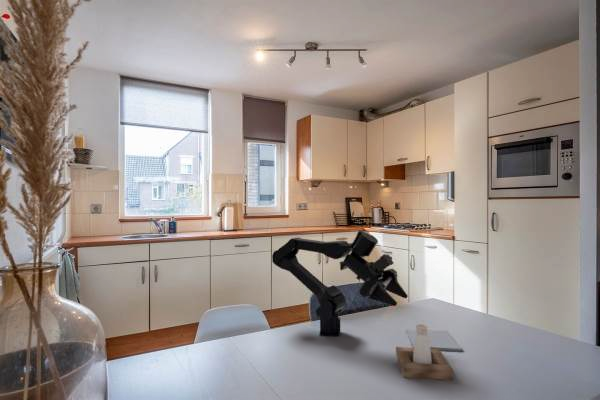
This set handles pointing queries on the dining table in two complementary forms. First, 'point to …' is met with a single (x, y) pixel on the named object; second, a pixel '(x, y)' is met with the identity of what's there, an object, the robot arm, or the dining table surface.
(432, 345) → the slate grey mat
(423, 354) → the pepper shaker
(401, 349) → the walnut collar
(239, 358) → the dining table surface
